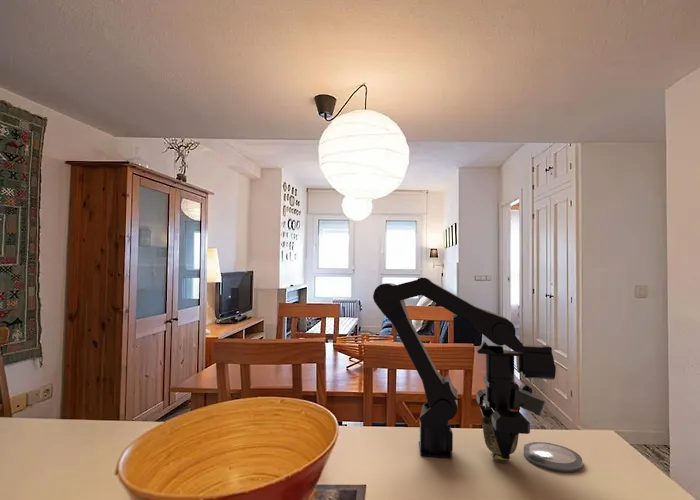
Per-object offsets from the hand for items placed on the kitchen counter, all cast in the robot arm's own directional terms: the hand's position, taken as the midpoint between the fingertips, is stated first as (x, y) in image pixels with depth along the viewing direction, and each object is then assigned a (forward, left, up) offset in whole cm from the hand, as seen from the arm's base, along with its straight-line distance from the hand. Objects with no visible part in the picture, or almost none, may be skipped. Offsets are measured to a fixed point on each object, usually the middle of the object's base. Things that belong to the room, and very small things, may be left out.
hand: (500, 450), depth 80 cm
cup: (0, 0, -2) cm, 2 cm away
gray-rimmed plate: (+11, +2, -2) cm, 11 cm away
